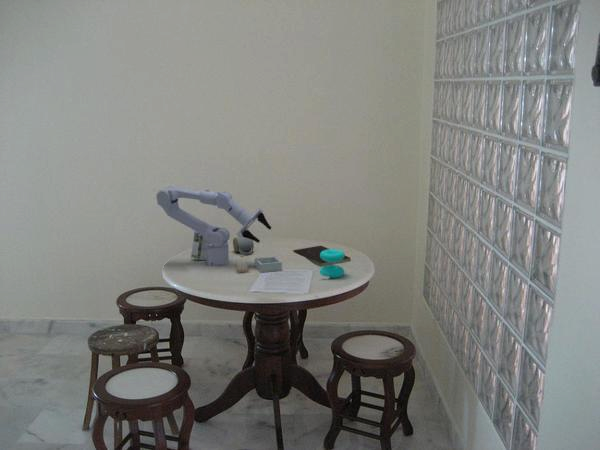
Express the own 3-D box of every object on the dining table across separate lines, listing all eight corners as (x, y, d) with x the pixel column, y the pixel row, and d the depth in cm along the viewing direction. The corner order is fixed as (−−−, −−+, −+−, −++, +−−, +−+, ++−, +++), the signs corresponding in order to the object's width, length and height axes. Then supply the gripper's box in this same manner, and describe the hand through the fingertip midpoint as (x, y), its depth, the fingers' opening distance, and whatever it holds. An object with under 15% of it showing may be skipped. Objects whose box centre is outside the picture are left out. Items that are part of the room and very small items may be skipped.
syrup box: (190, 257, 292) (194, 225, 290) (201, 257, 296) (205, 225, 295) (197, 260, 288) (202, 227, 286) (208, 260, 292) (213, 227, 291)
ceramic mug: (232, 250, 307) (231, 234, 305) (248, 248, 310) (248, 232, 308) (239, 256, 298) (239, 240, 296) (256, 254, 301) (256, 238, 299)
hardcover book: (319, 267, 282) (319, 262, 281) (292, 255, 301) (292, 250, 301) (350, 262, 290) (350, 257, 289) (322, 250, 309) (322, 245, 309)
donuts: (343, 255, 262) (318, 254, 264) (343, 279, 264) (318, 278, 266) (345, 248, 272) (321, 247, 273) (345, 272, 274) (321, 271, 276)
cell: (238, 272, 269) (238, 257, 268) (236, 270, 273) (236, 254, 271) (248, 271, 271) (248, 256, 269) (246, 269, 274) (245, 253, 273)
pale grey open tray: (260, 272, 270) (260, 264, 269) (255, 266, 278) (254, 258, 277) (281, 270, 273) (281, 262, 272) (275, 264, 281) (275, 256, 280)
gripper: (229, 224, 271) (255, 245, 270) (252, 199, 275) (277, 220, 275) (228, 228, 277) (252, 249, 277) (250, 204, 282) (274, 224, 282)
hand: (265, 235), depth 276 cm, fingers open, 7 cm apart
